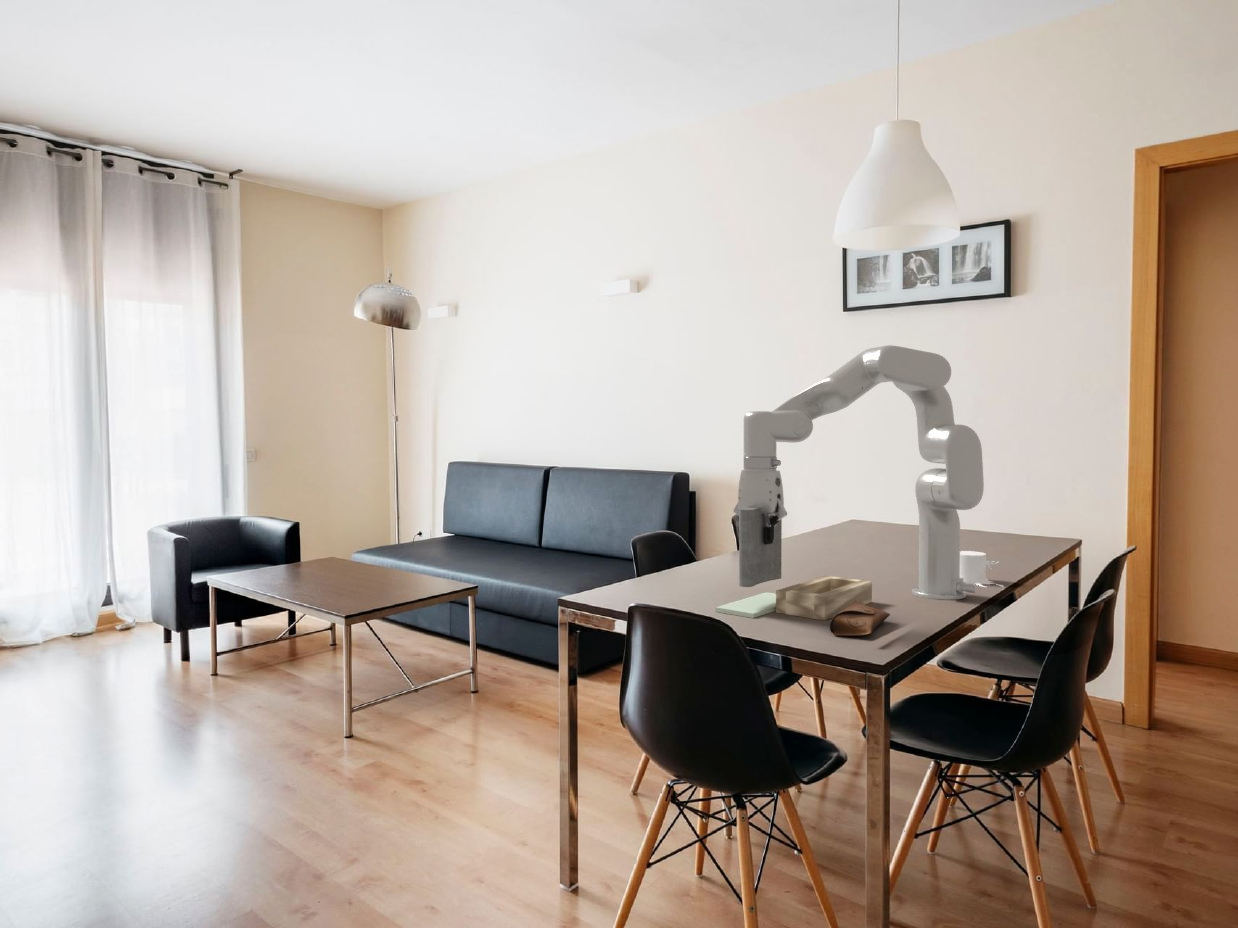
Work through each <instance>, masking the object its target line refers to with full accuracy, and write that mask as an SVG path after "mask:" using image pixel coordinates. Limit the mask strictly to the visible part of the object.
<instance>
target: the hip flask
mask: <svg viewBox="0 0 1238 928" xmlns="http://www.w3.org/2000/svg"><path fill="white" fill-rule="evenodd" d="M777 514H778V513H775V515H777ZM738 517H739V520H738V521H739V523H738V524H739V526H738V527H739V528H738V531H739V533H738V535H739V536H738V538H739V539H738V540H739V541H738V542H739V544H738V545H739V546H738V547H739V549H738V551H739V553H738V557H739V558H738V559H739V560H738V561H739V564H738V565H739V566H738V567H739V569H738V572H739V573H738V574H739V575H738V576H739V577H738V578H739V579H738V580H739V581H738V586H739V587H742V588H751V587H755V586H757V585H760V584H763V583H767V582H770V581H775V580H780V579H782V533H783V532H782V525H783V524H782V519H783V518H782V519H780V521H779V522H778V523H777V524H776V526H774V540H773V543H772V544H767V545H766V544H764V543H763V529H764V527H766V524H765V517H764V514H761V513H760V508H752V507H746V508H741V509H739V516H738Z"/></svg>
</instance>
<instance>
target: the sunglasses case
mask: <svg viewBox="0 0 1238 928" xmlns="http://www.w3.org/2000/svg"><path fill="white" fill-rule="evenodd" d="M890 616H891V613H889V612H887V611H885V610H882V609H879V608H876V607H872V606H869V605H868V604H864V603H862V602H860V601H858V600H856V601H855V602H854V603H853V604H852V605H850V606H848V607H847V608H845V609H844V610H843V611H841V612H840V613H838V614H836V615H835V616H834V617H832V618H831V620H830V622H829V631H830V632H831V633H832V634H833V635H834V636H837V637H838V636H842V637H857V636H865V635H867V636H868V635H870V634H872V633H873V631H874V630H875V629H876V628H877V627H878V626H880V625H881V624H882V623H883V622H884V621H885V620H887V619H888V618H889V617H890Z"/></svg>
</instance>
